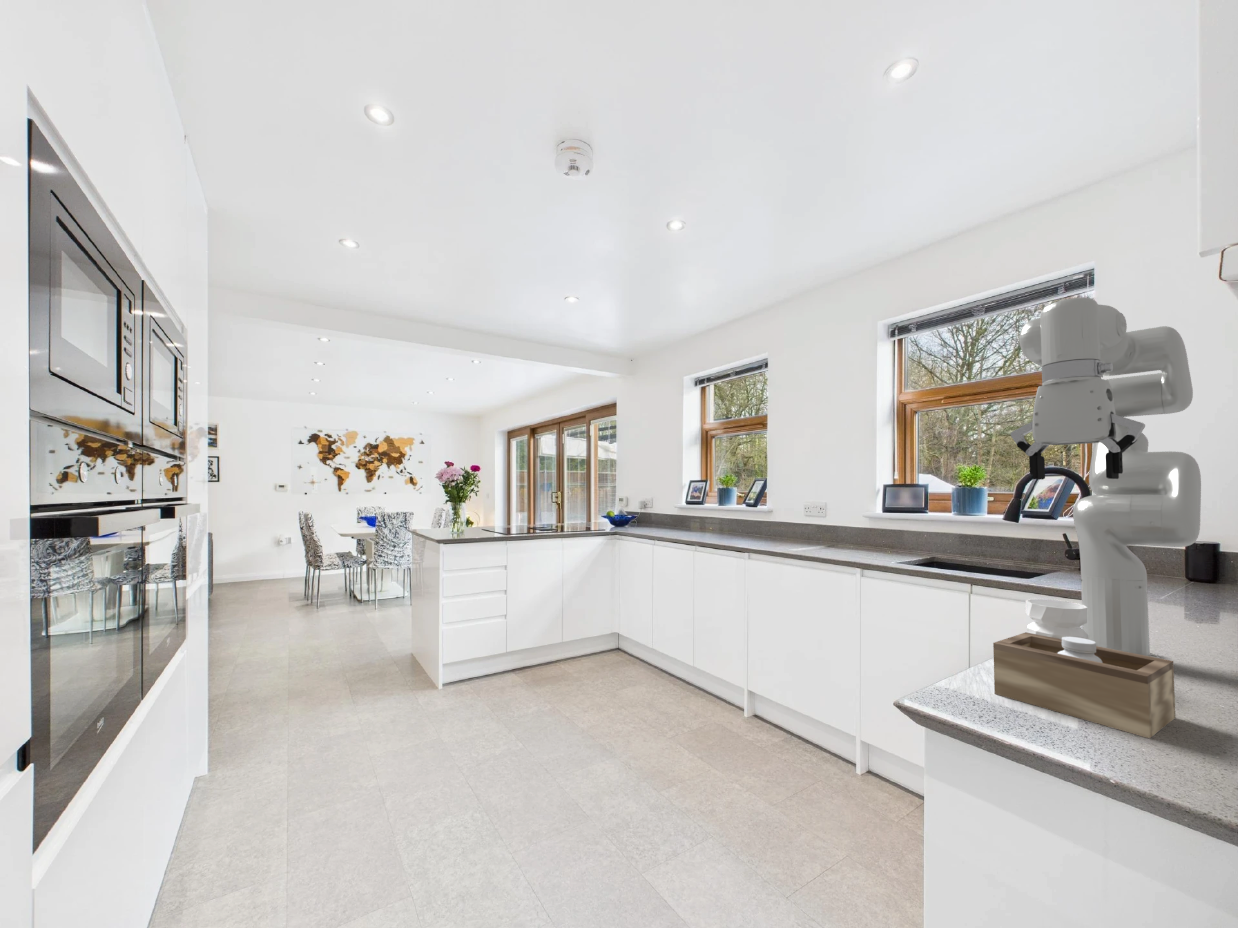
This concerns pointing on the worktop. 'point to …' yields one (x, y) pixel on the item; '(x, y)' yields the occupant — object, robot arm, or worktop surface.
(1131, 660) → the wooden box
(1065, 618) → the vase
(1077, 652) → the supplement bottle
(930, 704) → the worktop surface
